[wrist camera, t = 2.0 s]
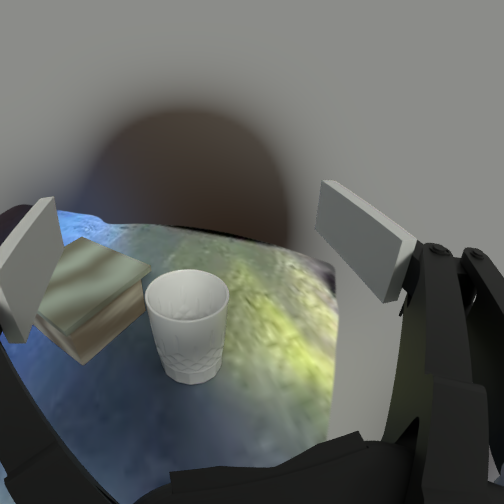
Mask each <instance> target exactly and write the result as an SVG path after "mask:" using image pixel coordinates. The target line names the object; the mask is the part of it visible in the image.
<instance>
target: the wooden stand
mask: <svg viewBox="0 0 504 504" xmlns="http://www.w3.org/2000/svg"><path fill="white" fill-rule="evenodd" d="M64 248H65V249H64V251H63V253H62V255H61V257H60V259H59V261H58V263H57V266H56V268H55V270H54V272H53V275H52V277H51V279H50V282H49V284H48V286H47V289H46V291H45V293H44V296H43V298H42V301H41V303H40V306H39V309H38V311H37V314H36V316H35V319H34V322H33V325H34V326H35V327H36V328H38V329H39V330H40V331H41V332H42V333H43V334H44V335H46V336H47V337H48V338H49V339H50V340H51V341H53V342H54V343H55V344H56V345H57V346H59V347H60V348H61V349H62V350H64V351H65V352H66V353H67V354H69V355H70V356H71V357H72V358H74V359H75V360H76V361H78V362H79V363H80V364H81V365H83V366H84V365H85V364H86V363H87V362H89V361H90V360H91V359H92V358H93V357H94V356H95V355H96V354H97V353H99V352H100V351H101V350H102V349H103V348H104V347H105V346H106V345H108V344H109V343H110V342H111V341H112V340H113V339H114V338H115V337H117V336H118V335H119V334H120V333H121V332H122V331H123V330H124V329H126V328H127V327H128V326H129V325H130V324H131V323H132V322H133V321H135V320H136V319H137V318H138V317H139V316H140V315H141V314H143V313H144V312H145V311H146V309H145V303H144V296H143V289H142V283H141V278H143V277H144V276H145V275H147V274H148V273H149V272H151V265H148V264H146V263H143V262H141V261H138V260H136V259H133V258H131V257H129V256H126V255H124V254H121V253H119V252H116V251H114V250H112V249H109V248H107V247H105V246H102V245H100V244H98V243H95V242H93V241H91V240H88V239H86V238H84V237H80V238H79V239H77V240H75V241H73V242H72V243H70V244H68V245H66V246H65V247H64Z"/></svg>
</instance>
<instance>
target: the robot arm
mask: <svg viewBox="0 0 504 504" xmlns="http://www.w3.org/2000/svg"><path fill="white" fill-rule="evenodd" d="M315 230H316V231H317V232H318V233H319V234H320V235H321V236H322V237H323V238H324V239H325V240H326V241H327V242H328V243H329V244H330V246H331V247H332V248H333V249H334V250H335V251H336V252H337V253H338V254H339V255H340V256H341V257H342V258H343V260H344V261H345V262H346V263H347V264H348V265H349V266H350V267H351V268H352V269H353V270H354V271H355V273H356V274H357V275H358V276H359V277H360V278H361V279H362V280H363V282H365V284H366V285H367V286H368V287H369V288H370V289H371V290H372V292H373V293H374V294H375V295H376V296H377V297H378V298H379V300H380V301H381V302H382V303H388V302H392V301H397V300H398V297H399V294H400V291H401V289H402V288H403V289H404V290H405V291H406V292H407V295H406V298H405V301H404V304H403V306H402V309H401V311H400V314H399V316H402V314H403V322H402V332H401V339H400V347H399V355H398V362H397V369H396V375H395V381H394V387H393V393H392V398H391V403H390V408H389V414H388V418H387V422H386V427H385V431H384V435H383V437H382V440H381V441H363V439H362V437H361V435H360V433H359V431H356V432H353V433H350V434H347V435H345V436H341V437H338V438H336V439H332V440H329V441H326V442H323V443H319V444H317V445H315V446H313V447H312V448H310V449H308V450H306V451H304V452H303V453H301V454H299V455H297V456H295V457H294V458H292V459H290V460H288V461H286V462H284V463H282V464H280V465H278V466H275V467H270V468H256V467H227V466H216V467H209V468H201V469H193V470H184V471H173V472H169V473H170V479H171V483H169V484H166V485H163V486H161V487H159V488H157V489H154V490H152V491H150V492H149V493H147V494H145V495H144V496H142V497H141V498H140V499H138V500H137V501H136V502H135V503H134V504H504V278H503V276H502V275H501V273H500V272H499V271H498V269H497V268H496V267H495V265H494V264H493V262H492V261H491V260H490V258H489V257H488V256H487V255H486V254H484V253H483V252H482V251H481V250H479V249H476V248H465V249H464V252H463V254H462V257H461V258H455V257H453V255H452V253H451V252H450V251H449V250H448V249H447V248H445V247H443V246H442V245H439V244H434V243H426V244H422V243H421V242H420V241H418V240H417V239H416V238H415V237H414V236H412V235H411V234H410V233H409V232H407V231H406V230H404V229H403V228H402V227H401V226H399V225H398V224H396V223H395V222H393V221H392V220H391V219H390V218H388V217H387V216H386V215H384V214H383V213H381V212H380V211H379V210H377V209H376V208H374V207H373V206H372V205H370V204H368V203H367V202H366V201H364V200H363V199H362V198H360V197H359V196H357V195H356V194H354V193H353V192H351V191H350V190H348V189H347V188H345V187H344V186H342V185H341V184H339V183H338V182H336V181H334V180H322V182H321V189H320V196H319V203H318V211H317V217H316V224H315ZM64 249H65V248H64V244H63V240H62V235H61V231H60V226H59V221H58V216H57V210H56V206H55V199H54V196H53V197H46V198H40V199H39V200H38V201H37V203H36V204H35V205H34V206H33V207H32V208H31V209H30V211H29V212H28V213H27V214H26V215H25V216H24V218H23V219H22V220H21V221H20V222H19V224H18V225H17V226H16V227H15V228H14V230H13V231H12V232H11V233H10V235H9V236H8V237H7V239H6V240H5V241H4V242H3V244H2V245H1V246H0V335H1V333H2V331H3V333H4V335H5V337H6V339H7V340H8V342H9V343H26V342H27V339H28V336H29V333H30V330H31V327H32V325H33V322H34V319H35V316H36V314H37V311H38V309H39V306H40V303H41V301H42V298H43V296H44V293H45V291H46V289H47V286H48V284H49V282H50V279H51V277H52V275H53V272H54V270H55V268H56V266H57V263H58V261H59V259H60V257H61V255H62V253H63V251H64ZM476 294H477V295H476ZM475 296H476V299H475V301H474V303H473V300H474V298H475ZM489 446H490V450H491V454H492V456H493V459H494V462H495V465H496V468H497V470H498V472H499V474H500V476H499V477H498V478H497V479H496V480H495V481H494V483H492V482H489V481H488V462H489V461H488V460H489ZM0 461H1V463H2V465H3V467H4V469H5V471H6V473H7V477H6V478H4V482H5V486H6V488H7V490H8V492H9V493H10V495H11V497H12V498H13V500H14V501H15V503H16V504H119V503H118V502H117V501H116V500H115V499H114V498H113V497H112V496H111V495H110V494H109V493H108V492H107V491H106V490H105V489H104V488H103V487H102V486H101V485H100V484H99V483H98V482H97V481H96V480H95V479H94V478H93V477H92V476H91V474H90V473H89V472H88V471H87V470H86V469H85V468H84V466H83V465H82V464H81V463H80V462H79V461H78V459H77V458H76V457H75V456H74V455H73V453H72V452H71V451H70V450H69V448H68V447H67V446H66V445H65V443H64V442H63V441H62V439H61V438H60V437H59V435H58V434H57V433H56V431H55V430H54V429H53V427H52V426H51V424H50V423H49V422H48V420H47V419H46V417H45V416H44V415H43V413H42V412H41V410H40V409H39V407H38V406H37V404H36V403H35V401H34V399H33V398H32V396H31V395H30V393H29V392H28V390H27V388H26V387H25V385H24V383H23V382H22V380H21V378H20V377H19V375H18V373H17V371H16V370H15V368H14V366H13V364H12V362H11V360H10V359H9V357H8V355H7V353H6V351H5V349H4V347H3V345H2V343H1V341H0Z"/></svg>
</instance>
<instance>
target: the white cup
mask: <svg viewBox="0 0 504 504" xmlns="http://www.w3.org/2000/svg"><path fill="white" fill-rule="evenodd" d="M145 301H146V306H147V310H148V315H149V320H150V324H151V328H152V333H153V336H154V340H155V343H156V347H157V351H158V354H159V356H160V359H161V363H162V366H163V368H164V370H165V372H166V374H167V375H168V376H169V377H171V378H172V379H174V380H175V381H176V382H180V383H184V384H189V385H193V384H199V383H204V382H206V381H208V380H209V379H211V378H213V377H214V376H215V375H216V374H217V372H218V370H219V369H220V367H221V361H222V351H223V347H224V341H225V333H226V324H227V313H228V303H229V290H228V287H227V286H226V284H225V283H224V282H223V281H222V280H221V279H220V278H218V277H217V276H215V275H213V274H211V273H208V272H205V271H201V270H193V269H183V270H176V271H171V272H168V273H165V274H163V275H161V276H159V277H157V278H156V279H155V280H153V281H152V282H151V283H150V284H149V286H148V287H147V289H146V292H145Z"/></svg>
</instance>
